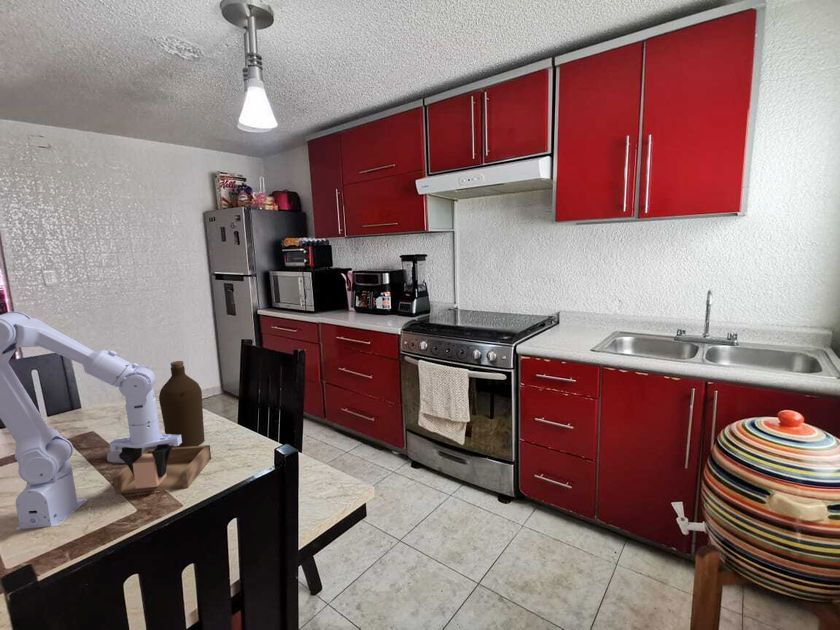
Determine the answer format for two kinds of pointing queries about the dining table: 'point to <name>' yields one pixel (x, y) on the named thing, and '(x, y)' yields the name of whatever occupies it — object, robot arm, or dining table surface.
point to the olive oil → (182, 407)
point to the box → (169, 470)
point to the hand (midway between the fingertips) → (150, 476)
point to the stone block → (114, 455)
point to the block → (146, 472)
